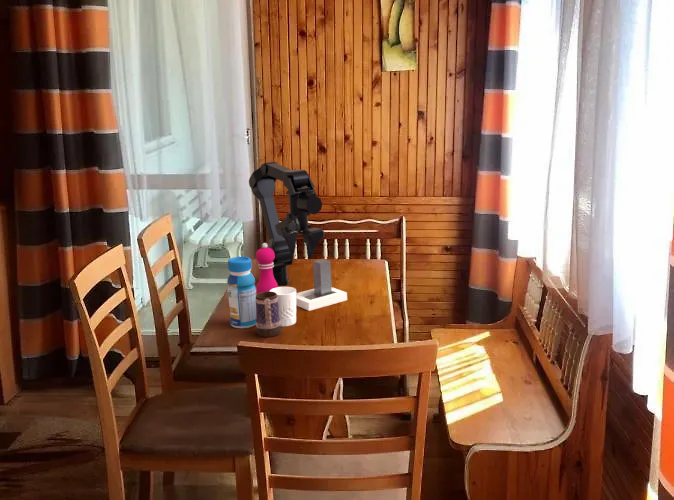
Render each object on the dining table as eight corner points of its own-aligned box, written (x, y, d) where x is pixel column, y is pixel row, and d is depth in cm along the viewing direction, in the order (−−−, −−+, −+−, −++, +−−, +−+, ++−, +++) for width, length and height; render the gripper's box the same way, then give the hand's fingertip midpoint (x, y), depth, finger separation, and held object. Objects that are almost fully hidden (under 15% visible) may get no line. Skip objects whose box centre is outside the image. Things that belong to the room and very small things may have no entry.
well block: (289, 302, 240) (288, 295, 239) (326, 292, 248) (326, 285, 248) (309, 310, 231) (308, 303, 230) (347, 300, 240) (346, 292, 239)
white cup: (277, 329, 217) (275, 296, 214) (267, 321, 223) (265, 289, 221) (302, 324, 220) (300, 291, 218) (291, 316, 227) (289, 285, 224)
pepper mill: (281, 299, 243) (277, 240, 238) (277, 307, 236) (273, 245, 231) (259, 299, 244) (255, 240, 238) (255, 307, 237) (250, 246, 231)
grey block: (304, 302, 239) (302, 263, 236) (324, 297, 243) (323, 258, 240) (311, 305, 236) (309, 266, 232) (332, 300, 240) (330, 261, 237)
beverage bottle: (254, 329, 217) (249, 263, 212) (226, 328, 219) (220, 263, 214) (261, 319, 225) (257, 255, 220) (235, 318, 227) (230, 255, 222)
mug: (256, 329, 217) (253, 290, 214) (281, 327, 218) (278, 288, 215) (256, 342, 207) (253, 301, 204) (281, 340, 208) (279, 299, 205)
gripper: (261, 209, 242) (264, 256, 246) (296, 217, 228) (298, 266, 232) (288, 204, 249) (291, 249, 253) (324, 211, 235) (326, 259, 239)
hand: (301, 256), depth 244 cm, fingers open, 9 cm apart
